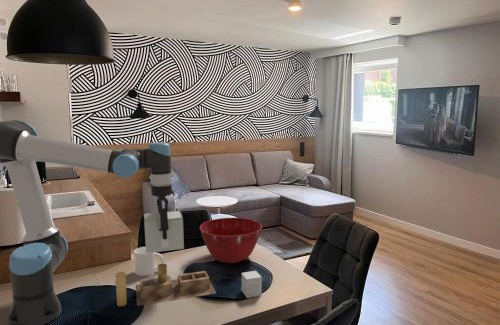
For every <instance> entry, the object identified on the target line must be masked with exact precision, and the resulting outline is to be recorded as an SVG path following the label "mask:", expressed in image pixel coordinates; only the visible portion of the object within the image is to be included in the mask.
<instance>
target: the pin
mask: <svg viewBox="0 0 500 325" xmlns="http://www.w3.org/2000/svg"><path fill="white" fill-rule="evenodd" d="M115 287H116V288H115V292H116V306H118V307H125V306H126V305H127V303H128V301H127V298H128V297H127V277H126V271H118V272H117V273H115Z"/></svg>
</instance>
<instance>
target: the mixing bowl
mask: <svg viewBox="0 0 500 325" xmlns="http://www.w3.org/2000/svg"><path fill="white" fill-rule="evenodd" d="M262 229H263V225H262V224H261V223H260V222H258V221H256V220H253V219H249V218H244V217H221V218H215V219H210V220H207V221H204V222H203V223H202V224H200V226H199V230H200V232H201V237H202V239H203V241H204V244H205V246H206V248H207V251H208V252H209V254H210V255H211V257H213V258H214V259H215V260H217V261H218V262H221V263H223V264H237V263H240V261H241V262H243V261H245V260H246V259H247V258H249V257H250V256H251V255H252V253H253V251H254V249H255V247H256V246H257V244H258V240H259V237H260V234H261V230H262ZM236 262H237V263H236Z"/></svg>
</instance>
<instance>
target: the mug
mask: <svg viewBox="0 0 500 325" xmlns="http://www.w3.org/2000/svg"><path fill="white" fill-rule="evenodd" d="M156 258H159V260H160V264H165V259H164V257H163V255H162V254H161V253H159V252H152V253H146V246H141V247H137V248H136V249H134V250H133V259H134V263H133V264H134V274H135V275H137V276H141V277H146V276H150V275H153V274H154V273H156V271H158V265H157V266H156Z"/></svg>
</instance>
